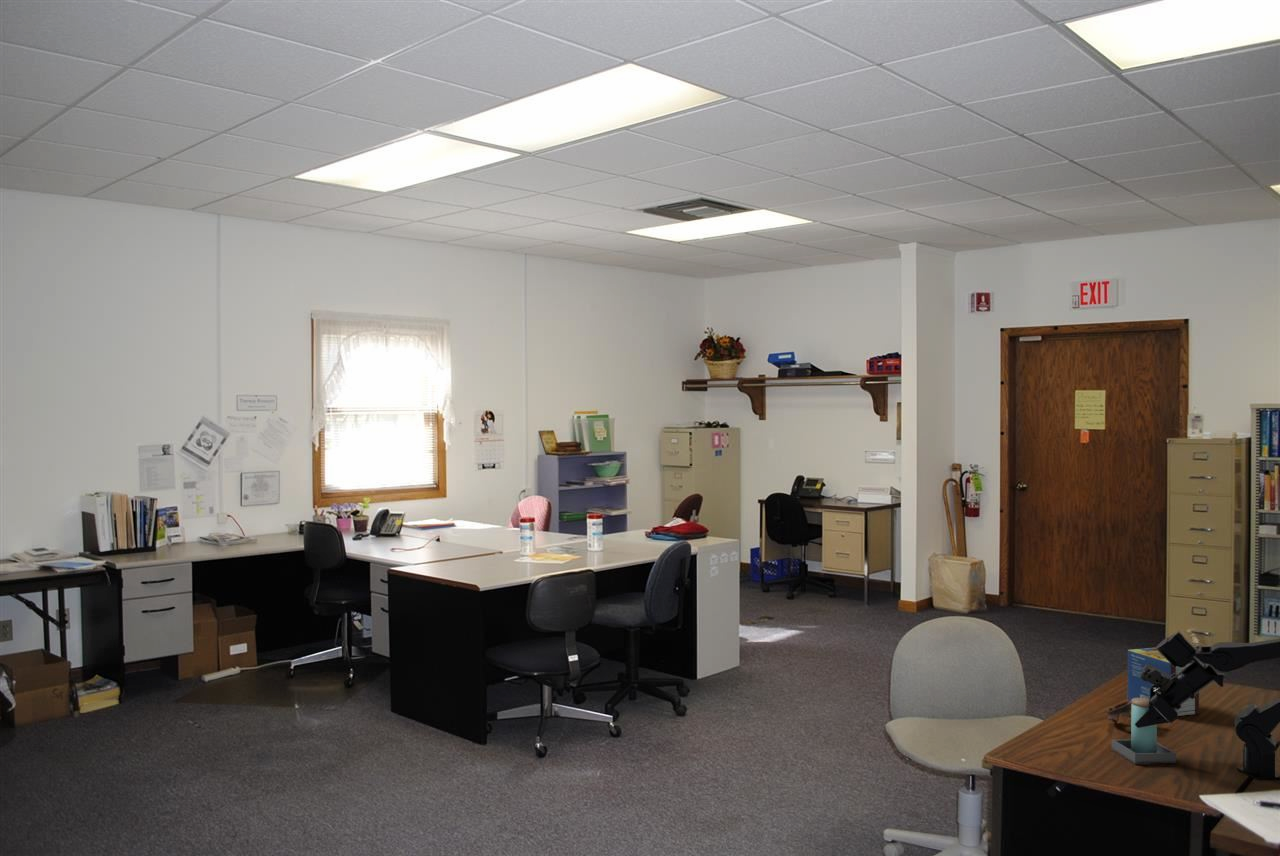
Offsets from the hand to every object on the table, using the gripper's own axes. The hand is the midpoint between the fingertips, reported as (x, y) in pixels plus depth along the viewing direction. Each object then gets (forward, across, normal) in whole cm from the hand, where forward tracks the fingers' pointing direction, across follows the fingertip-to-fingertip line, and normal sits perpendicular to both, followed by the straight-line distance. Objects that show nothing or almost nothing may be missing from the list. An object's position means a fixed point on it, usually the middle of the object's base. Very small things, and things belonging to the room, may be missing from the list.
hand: (1137, 720), depth 236 cm
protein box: (+3, -46, +10) cm, 47 cm away
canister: (+5, 0, +7) cm, 8 cm away
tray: (+5, 0, +7) cm, 9 cm away
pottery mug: (+8, -23, +5) cm, 25 cm away
